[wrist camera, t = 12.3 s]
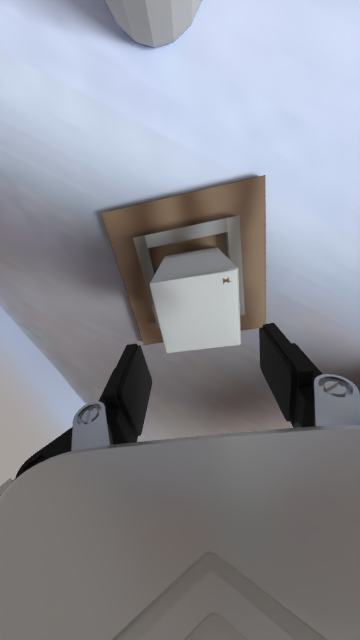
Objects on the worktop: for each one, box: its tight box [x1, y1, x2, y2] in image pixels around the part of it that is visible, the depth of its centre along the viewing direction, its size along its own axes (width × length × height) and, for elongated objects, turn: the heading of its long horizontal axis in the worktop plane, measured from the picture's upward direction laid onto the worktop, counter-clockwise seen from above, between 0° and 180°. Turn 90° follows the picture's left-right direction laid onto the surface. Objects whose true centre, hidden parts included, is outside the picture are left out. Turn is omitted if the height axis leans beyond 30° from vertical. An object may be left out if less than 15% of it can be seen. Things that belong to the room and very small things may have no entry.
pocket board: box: [101, 175, 266, 345], centre depth 28 cm, size 20×20×3 cm
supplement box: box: [150, 247, 241, 353], centre depth 23 cm, size 7×7×13 cm
